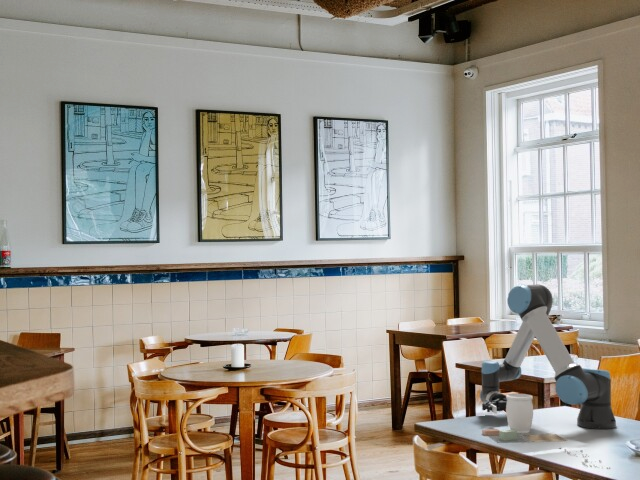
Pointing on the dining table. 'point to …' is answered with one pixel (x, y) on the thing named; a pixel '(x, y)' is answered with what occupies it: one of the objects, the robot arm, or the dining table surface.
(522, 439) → the slate board
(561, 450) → the dining table surface
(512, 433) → the sage brick
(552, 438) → the sand pile
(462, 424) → the dining table surface
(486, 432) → the terracotta brick
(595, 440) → the dining table surface
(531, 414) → the jar
